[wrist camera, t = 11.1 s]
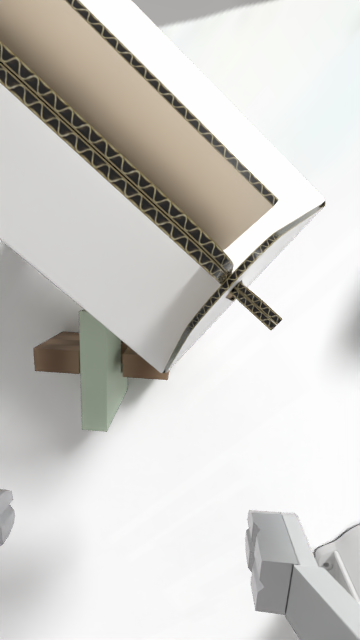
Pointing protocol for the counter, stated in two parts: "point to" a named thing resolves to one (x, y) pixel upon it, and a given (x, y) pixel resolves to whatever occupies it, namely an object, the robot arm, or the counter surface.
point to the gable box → (135, 175)
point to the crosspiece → (99, 373)
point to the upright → (66, 358)
